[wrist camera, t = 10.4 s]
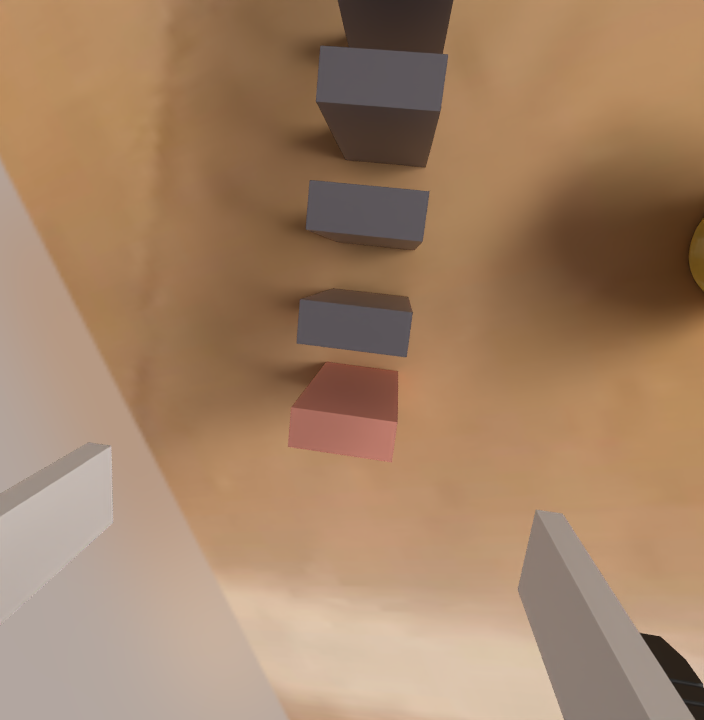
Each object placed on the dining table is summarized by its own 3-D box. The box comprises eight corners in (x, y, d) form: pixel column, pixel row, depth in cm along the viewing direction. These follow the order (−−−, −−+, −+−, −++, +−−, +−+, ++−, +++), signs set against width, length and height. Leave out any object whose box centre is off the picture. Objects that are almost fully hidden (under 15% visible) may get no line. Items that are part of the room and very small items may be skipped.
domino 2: (349, 125, 27) (320, 45, 17) (430, 131, 27) (448, 54, 17) (345, 159, 27) (315, 101, 18) (425, 167, 27) (440, 111, 17)
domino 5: (394, 399, 30) (391, 462, 21) (323, 389, 31) (287, 446, 21) (398, 371, 30) (397, 422, 20) (326, 361, 30) (291, 407, 21)
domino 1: (357, 33, 26) (332, -108, 16) (442, 38, 25) (469, -102, 16) (354, 70, 26) (327, -44, 17) (437, 76, 26) (460, -37, 16)
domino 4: (333, 288, 29) (300, 299, 19) (408, 296, 29) (412, 312, 19) (330, 318, 30) (296, 343, 20) (404, 327, 29) (406, 357, 19)
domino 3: (340, 210, 28) (309, 180, 18) (418, 217, 28) (429, 191, 18) (337, 242, 28) (305, 229, 19) (414, 250, 28) (422, 241, 18)
